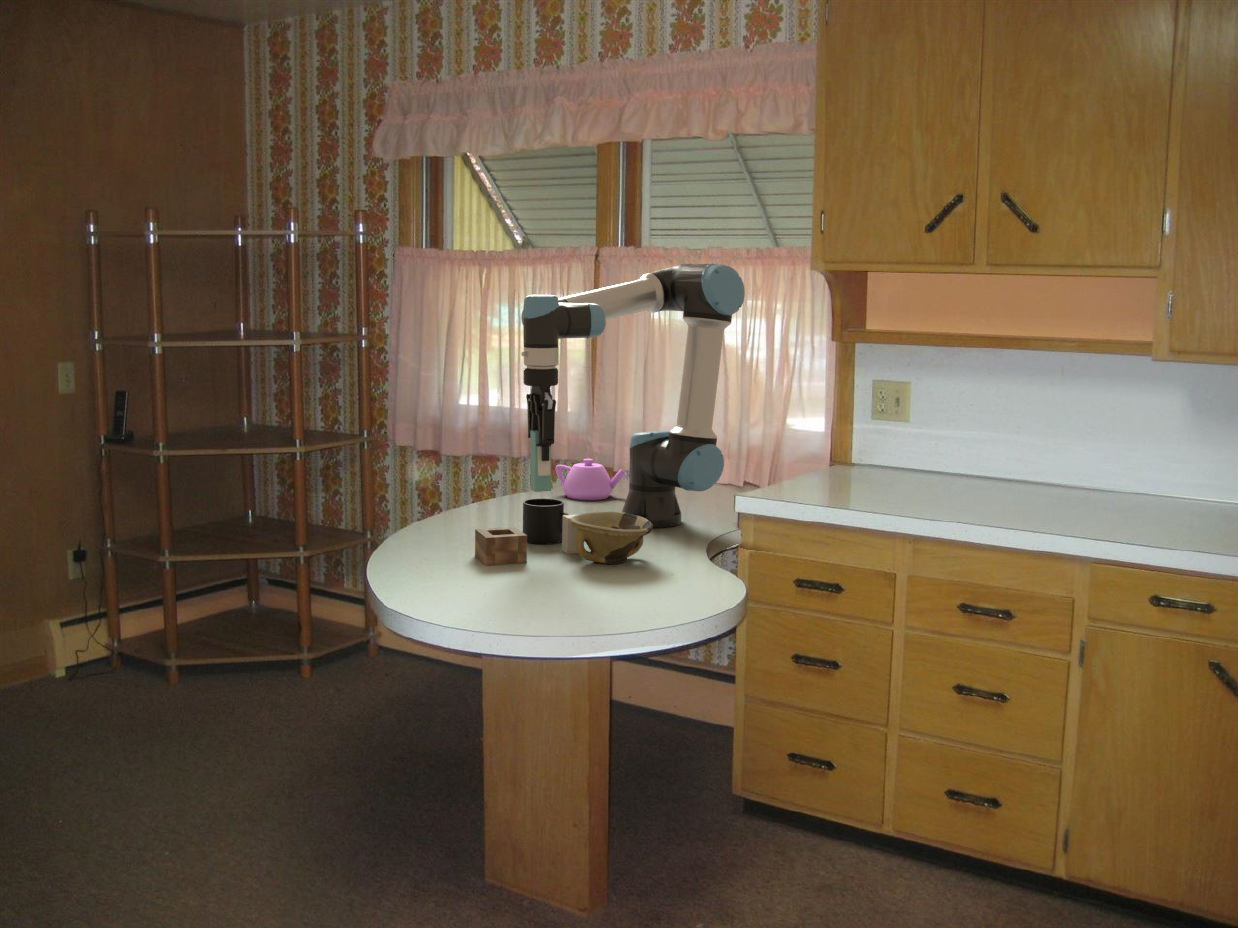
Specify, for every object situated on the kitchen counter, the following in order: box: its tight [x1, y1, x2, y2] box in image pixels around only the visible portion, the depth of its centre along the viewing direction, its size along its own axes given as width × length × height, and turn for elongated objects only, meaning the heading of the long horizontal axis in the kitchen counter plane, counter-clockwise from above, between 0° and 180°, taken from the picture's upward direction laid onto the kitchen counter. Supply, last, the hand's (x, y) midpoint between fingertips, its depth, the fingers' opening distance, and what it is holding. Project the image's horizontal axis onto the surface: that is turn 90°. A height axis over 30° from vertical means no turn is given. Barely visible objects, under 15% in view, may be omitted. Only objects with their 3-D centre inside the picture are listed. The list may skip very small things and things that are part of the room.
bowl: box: [570, 511, 653, 565], centre depth 261 cm, size 18×18×10 cm
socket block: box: [474, 526, 528, 566], centre depth 261 cm, size 9×9×6 cm
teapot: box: [555, 458, 627, 501], centre depth 336 cm, size 14×20×11 cm
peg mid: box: [561, 514, 579, 555], centre depth 270 cm, size 4×4×8 cm
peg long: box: [529, 430, 552, 493], centre depth 264 cm, size 4×4×13 cm
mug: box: [522, 498, 570, 545], centre depth 280 cm, size 9×12×9 cm
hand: (540, 473), depth 265 cm, fingers closed on peg long, 4 cm apart
